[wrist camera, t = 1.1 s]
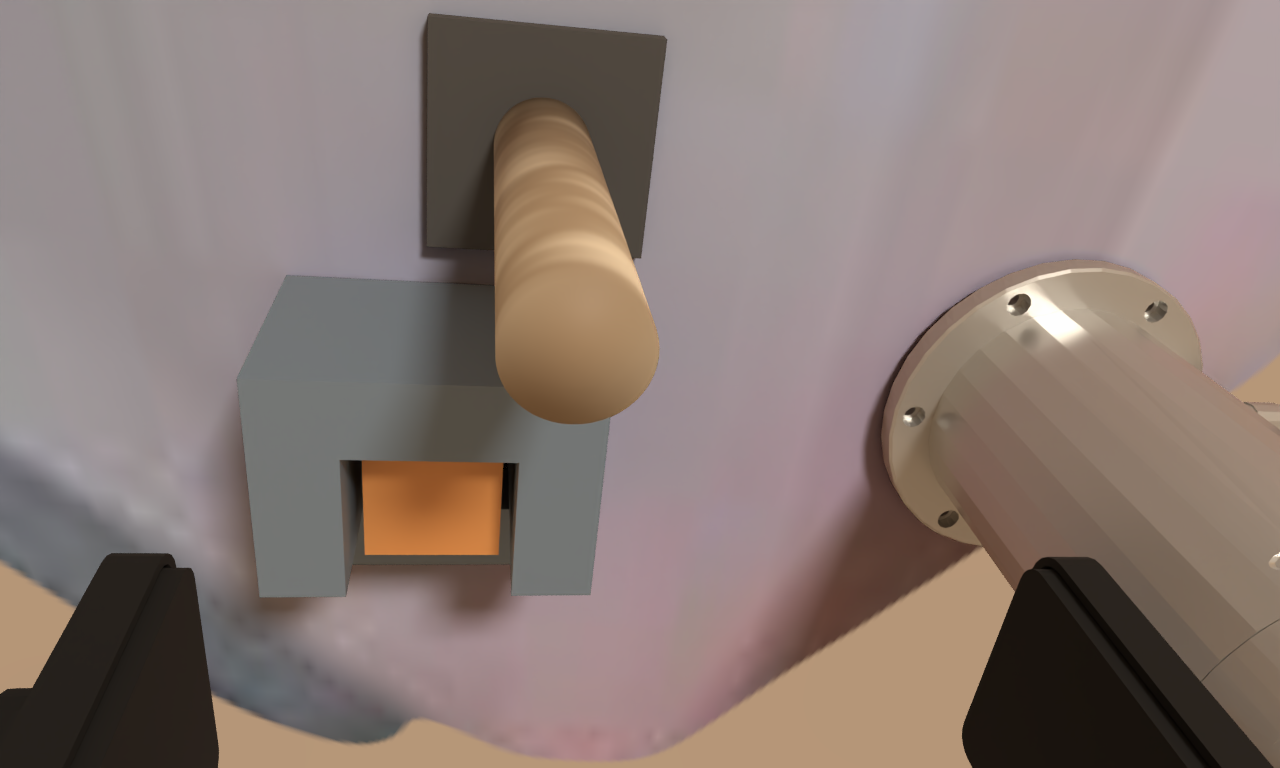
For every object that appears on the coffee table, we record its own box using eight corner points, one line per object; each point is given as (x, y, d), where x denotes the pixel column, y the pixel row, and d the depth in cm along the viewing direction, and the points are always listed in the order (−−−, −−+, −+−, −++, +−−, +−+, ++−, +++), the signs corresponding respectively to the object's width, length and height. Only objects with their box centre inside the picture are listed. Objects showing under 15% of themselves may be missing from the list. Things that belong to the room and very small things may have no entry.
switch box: (590, 290, 33) (613, 390, 27) (568, 522, 37) (583, 652, 31) (286, 275, 31) (236, 378, 25) (304, 521, 36) (265, 658, 30)
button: (503, 404, 31) (504, 446, 29) (498, 508, 33) (498, 555, 31) (370, 400, 30) (361, 443, 28) (373, 507, 32) (364, 554, 30)
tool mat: (663, 36, 29) (667, 39, 28) (638, 251, 32) (640, 258, 32) (428, 13, 28) (427, 16, 27) (427, 240, 31) (426, 246, 30)
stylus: (594, 101, 29) (669, 282, 17) (586, 196, 30) (649, 426, 18) (495, 93, 28) (498, 273, 16) (491, 190, 30) (491, 422, 18)
